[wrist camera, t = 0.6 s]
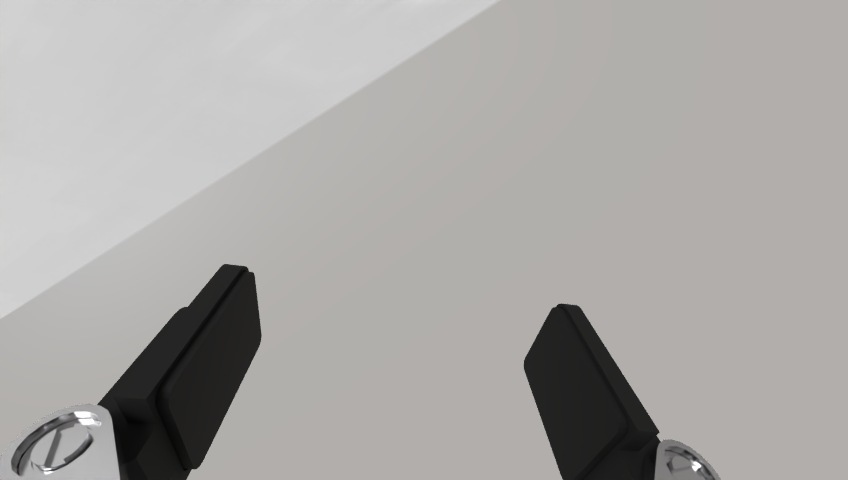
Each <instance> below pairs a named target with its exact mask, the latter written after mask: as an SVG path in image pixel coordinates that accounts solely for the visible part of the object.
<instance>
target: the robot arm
mask: <svg viewBox="0 0 848 480" xmlns="http://www.w3.org/2000/svg"><path fill="white" fill-rule="evenodd" d="M260 342H261V328H260V319H259V310H258V301H257V293H256V284H255V276H254V273H253V272H249V271H248V268H247V267H245V266H237V265H229V264H224V265H223V266H221V267H220V269H219V270H218V271H217V272H216V273H215V275H214V276H213V277H212V278H211V279H210V281H209V282H208V283H207V284H206V286H205V287H204V288H203V289H202V290H201V292H200V293H199V294H198V295H197V296H196V298H195V299H194V300H193V302H191V304H190V305H189V306H188V307H184V308H181V309H180V310H179V311H177V313H175V314H174V316H173V317H172V318H171V319H170V320H169V321H168V323H167V324H166V325H165V326H164V327H163V328H162V330H161V331H160V332H159V333H158V334H157V336H156V337H155V338H154V339H153V340H152V341H151V343H150V344H149V345H148V346H147V347H146V349H144V351H143V352H142V353H141V354H140V355H139V356H138V358H137V359H136V360H135V361H134V362H133V363H132V365H131V366H130V367H129V368H128V369H127V370H126V372H125V373H124V374H123V375H122V376H121V377H120V379H119V380H118V381H117V382H116V383H115V385H114V386H113V387H112V388H111V389H110V390H109V392H108V393H107V394H106V395H105V396H104V397H103V399H102V400H101V401H100V402H99V403H98V404H97V405H93V404H84V405H75V406H71V407H68V408H65V409H62V410H59V411H56V412H54V413H52V414H50V415H48V416H46V417H44V418H42V419H40V420H39V421H37V422H36V423H34V424H33V425H32V426H30V427H28V428H27V429H25V430H24V431H23V432H22V433H21V434H20V435H19V436H18V437H17V438H15V439H14V440H13V441H12V442H11V443H10V445H9V446H8V447H7V449H6V450H5V451H4V453H3V454H2V456H1V458H0V480H186V479H187V477H188V475H189V473H190V471H191V469H197V468H198V467H199V466H200V465H201V463H202V462H203V460H204V458H205V455H206V454H207V451H208V450H209V447H210V446H211V444H212V441H213V439H214V437H215V435H216V433H217V431H218V429H219V427H220V425H221V423H222V421H223V419H224V417H225V415H226V413H227V411H228V409H229V407H230V405H231V403H232V401H233V399H234V397H235V394H236V392H237V390H238V388H239V386H240V384H241V382H242V380H243V378H244V376H245V374H246V372H247V370H248V368H249V366H250V364H251V362H252V360H253V358H254V356H255V354H256V351H257V350H258V347H259V345H260ZM524 370H525V373H526V376H527V379H528V382H529V385H530V388H531V390H532V393H533V396H534V399H535V402H536V405H537V408H538V410H539V413H540V416H541V419H542V422H543V425H544V428H545V430H546V434H547V436H548V439H549V442H550V445H551V448H552V451H553V453H554V456H555V459H556V462H557V465H558V468H559V471H560V474H561V476H562V479H563V480H721V479H720V477H719V476H718V474H717V473H716V472H715V470H714V469H713V468H712V467H711V465H710V464H709V463H708V462H707V461H706V460H705V459H704V458H703V457H702V456H701V455H700V454H698V453H697V452H696V451H694V450H693V449H692V448H690V447H689V446H686V445H685V444H683V443H681V442H678V441H675V440H663V441H662V442H660V440H659V439H658V437H657V436H656V435H657V434H658V433H659V430H658V429H657V428H656V426H655V424H654V423H653V421H652V419H651V418H650V416H649V415H648V413H647V412H646V410H645V409H644V407H643V405H642V404H641V402H640V401H639V399H638V397H637V396H636V394H635V393H634V391H633V390H632V388H631V386H630V385H629V383H628V382H627V380H626V379H625V377H624V375H623V374H622V372H621V371H620V369H619V368H618V366H617V364H616V363H615V361H614V360H613V358H612V357H611V355H610V354H609V352H608V350H607V349H606V347H605V346H604V344H603V343H602V341H601V340H600V338H599V336H598V335H597V333H596V332H595V330H594V328H593V327H592V325H591V324H590V322H589V321H588V319H587V318H586V316H585V314H584V313H583V311H582V310H581V308H580V307H579V306H577V305H569V304H558V305H557V306H556V307H555V308H552V310H551V311H550V313H549V315H548V317H547V318H546V320H545V322H544V324H543V326H542V328H541V330H540V332H539V334H538V335H537V337H536V339H535V341H534V343H533V345H532V347H531V348H530V350H529V352H528V354H527V356H526V358H525V360H524Z"/></svg>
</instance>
